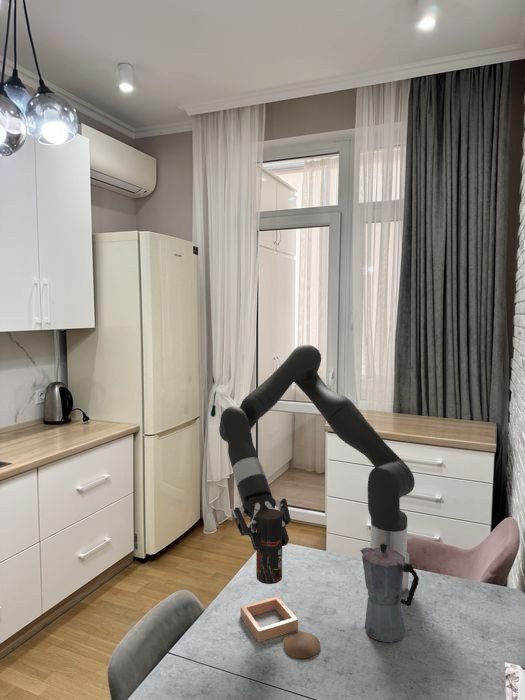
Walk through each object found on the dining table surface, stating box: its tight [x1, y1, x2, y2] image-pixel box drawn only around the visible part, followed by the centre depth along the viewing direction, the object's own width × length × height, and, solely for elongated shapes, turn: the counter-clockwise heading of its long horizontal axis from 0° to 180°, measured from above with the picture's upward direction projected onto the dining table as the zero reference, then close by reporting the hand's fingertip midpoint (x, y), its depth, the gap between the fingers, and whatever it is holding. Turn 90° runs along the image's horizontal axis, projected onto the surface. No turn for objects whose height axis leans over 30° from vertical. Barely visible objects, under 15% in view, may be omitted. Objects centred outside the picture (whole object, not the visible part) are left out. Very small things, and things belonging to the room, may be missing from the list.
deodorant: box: [255, 509, 283, 585], centre depth 111 cm, size 6×6×15 cm
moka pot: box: [359, 544, 420, 643], centre depth 109 cm, size 10×15×20 cm, turn 45°
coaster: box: [282, 630, 321, 660], centre depth 104 cm, size 8×8×1 cm
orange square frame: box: [239, 595, 299, 643], centre depth 112 cm, size 10×10×2 cm
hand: (272, 547), depth 109 cm, fingers closed on deodorant, 6 cm apart
